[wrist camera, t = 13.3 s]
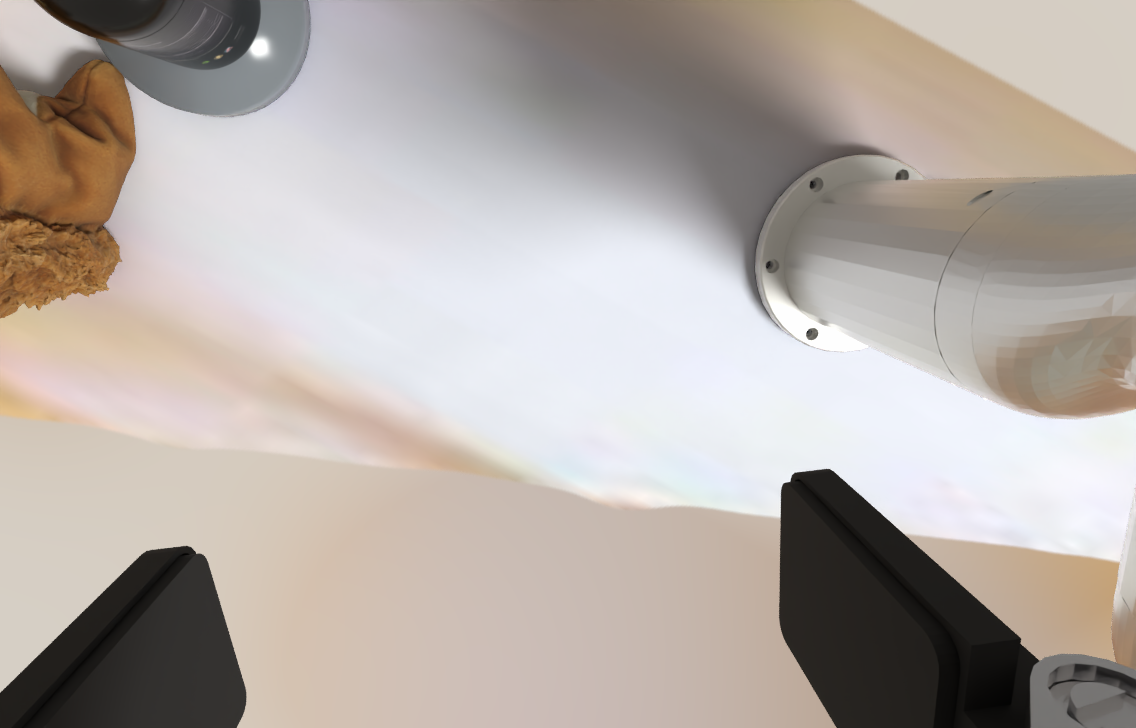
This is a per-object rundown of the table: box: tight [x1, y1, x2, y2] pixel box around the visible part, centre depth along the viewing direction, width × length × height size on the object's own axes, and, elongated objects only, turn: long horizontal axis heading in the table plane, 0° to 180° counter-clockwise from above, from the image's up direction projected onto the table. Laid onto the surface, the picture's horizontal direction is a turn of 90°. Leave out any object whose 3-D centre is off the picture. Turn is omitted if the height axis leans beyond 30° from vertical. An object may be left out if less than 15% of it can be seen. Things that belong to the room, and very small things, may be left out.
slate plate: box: [96, 0, 310, 117], centre depth 32 cm, size 11×11×2 cm
